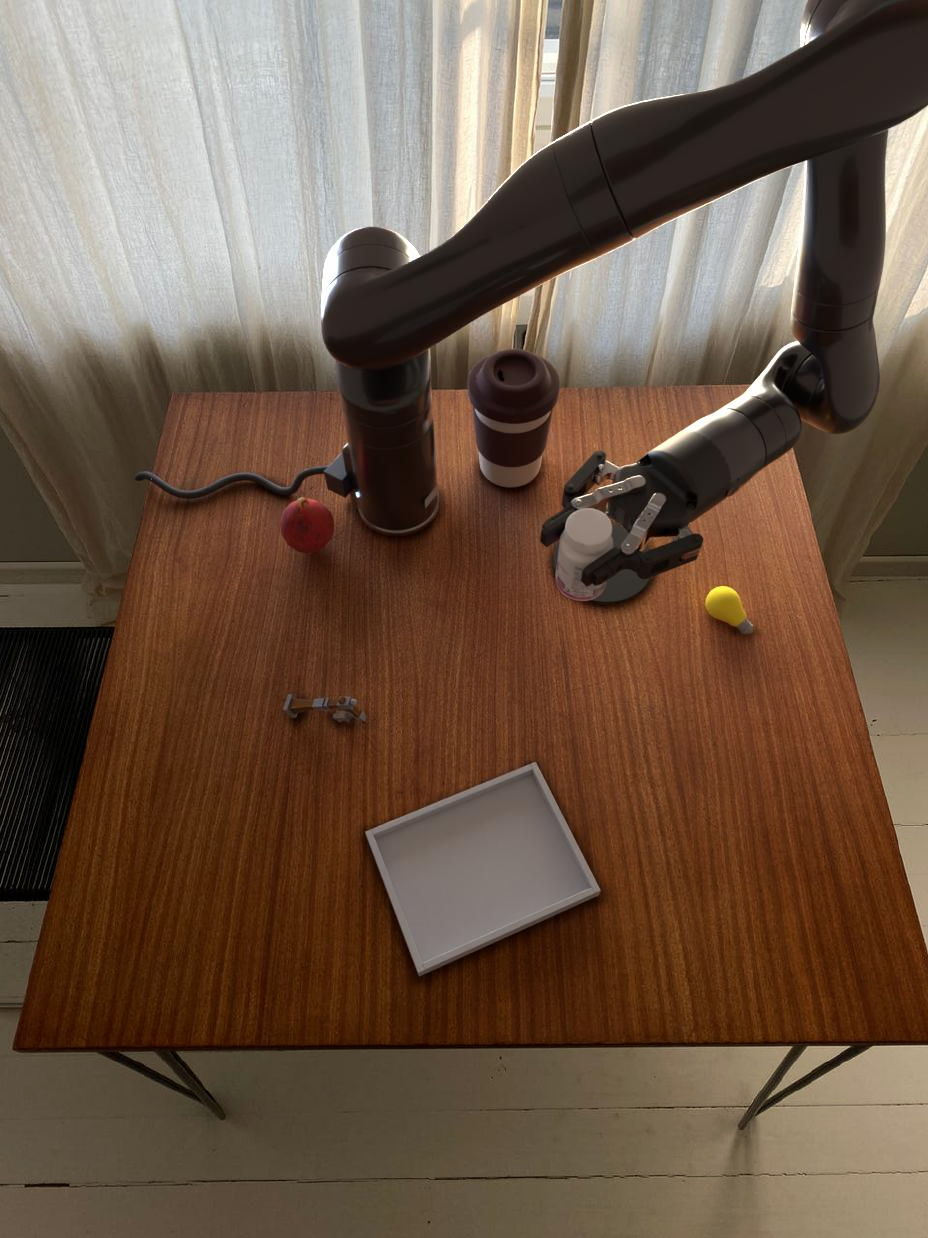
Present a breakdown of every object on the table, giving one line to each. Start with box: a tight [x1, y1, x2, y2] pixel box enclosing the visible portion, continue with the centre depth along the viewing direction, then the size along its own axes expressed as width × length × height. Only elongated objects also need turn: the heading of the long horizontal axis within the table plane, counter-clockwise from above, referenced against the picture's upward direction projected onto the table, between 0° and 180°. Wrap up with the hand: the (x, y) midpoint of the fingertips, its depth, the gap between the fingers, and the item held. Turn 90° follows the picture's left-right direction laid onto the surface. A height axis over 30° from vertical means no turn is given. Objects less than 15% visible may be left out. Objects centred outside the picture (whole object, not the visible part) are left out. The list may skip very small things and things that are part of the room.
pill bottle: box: [555, 508, 613, 602], centre depth 78 cm, size 5×5×8 cm
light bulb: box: [705, 585, 754, 635], centre depth 92 cm, size 3×6×4 cm
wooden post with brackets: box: [282, 693, 369, 724], centre depth 86 cm, size 2×8×4 cm, turn 79°
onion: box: [280, 496, 335, 555], centre depth 95 cm, size 6×6×8 cm
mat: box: [552, 522, 652, 605], centre depth 97 cm, size 11×11×1 cm
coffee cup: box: [467, 348, 561, 488], centre depth 98 cm, size 10×10×15 cm
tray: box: [364, 761, 602, 977], centre depth 78 cm, size 17×13×2 cm
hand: (564, 558), depth 75 cm, fingers closed on pill bottle, 4 cm apart
